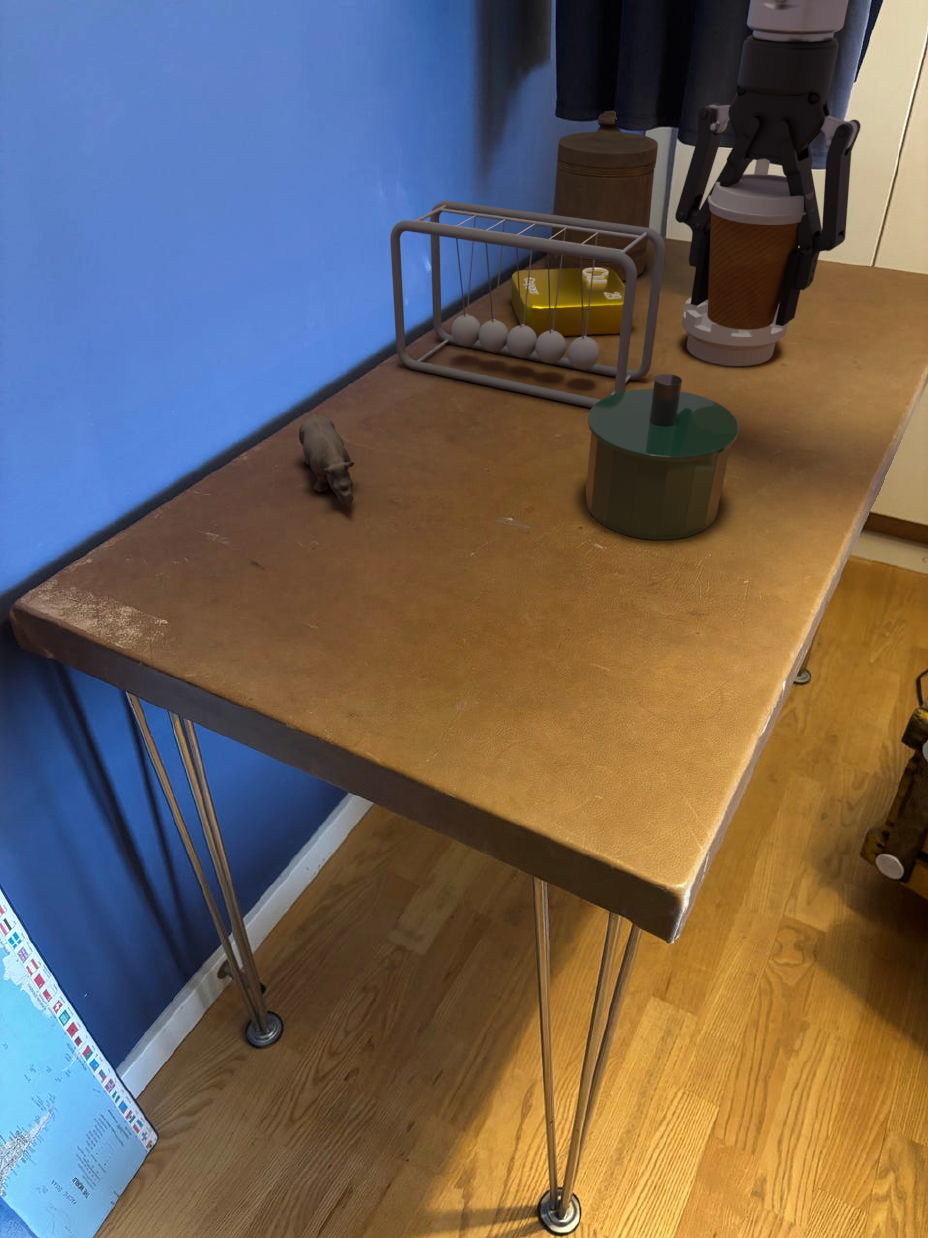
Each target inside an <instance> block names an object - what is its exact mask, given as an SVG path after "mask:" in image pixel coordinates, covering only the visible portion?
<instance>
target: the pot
mask: <svg viewBox="0 0 928 1238" xmlns="http://www.w3.org/2000/svg"><path fill="white" fill-rule="evenodd" d="M730 448H731V446H730V447H729V448H728V449H726V450H725V451H723V452H721V453H719V454H716V455H714V456H711V457H707V458H703V459H697V460H690V461H658V460H650V459H643V458H639V457H634V456H631V455H627V454H624V453H622V452H619V451H616V450H614V449H612V448H610V447H608V446H606V445H605V444H603V443H602V442H600V441H599V440H598V439H597V438H596V437H595V436H594V435H593V434H592V432H591V431H590V443H589V454H588V455H589V456H588V464H587V465H588V467H587V477H586V487H585V488H586V489H585V499H586V507H587V509H588V511H589V513H590V515H592V517H593V518H594V519H595V520H596V521H597V522H598V523H599V524H601V525H603V526H604V527H606V528H607V529H609V530H612V531H614V532H616V533H620V534H622V535H624V536H628V537H632V538H637V539H642V540H651V541H669V540H678V539H685V538H688V537H691V536H692V537H693V536H694V535H697V534H699V533H701V532H703V531H705V530H707V528H708V527H710V526H711V525H712V523H713V522H714V521H715V519H716V516H717V514H718V510H719V505H720V501H721V495H722V490H723V485H724V479H725V474H726V470H727V463H728V459H729V453H730Z"/></svg>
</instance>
